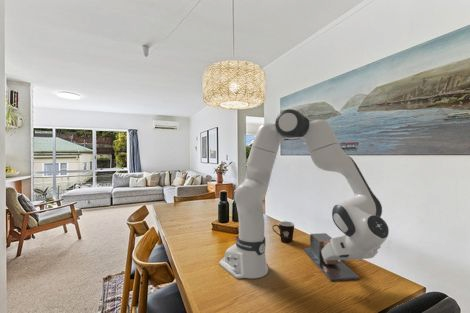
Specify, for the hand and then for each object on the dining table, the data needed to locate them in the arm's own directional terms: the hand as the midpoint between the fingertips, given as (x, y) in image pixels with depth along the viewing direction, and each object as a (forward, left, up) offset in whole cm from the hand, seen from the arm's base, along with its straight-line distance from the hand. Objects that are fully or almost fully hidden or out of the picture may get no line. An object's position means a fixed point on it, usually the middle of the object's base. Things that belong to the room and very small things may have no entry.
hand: (341, 259), depth 94 cm
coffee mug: (-37, +16, -7) cm, 41 cm away
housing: (-9, +8, -7) cm, 14 cm away
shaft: (-11, +9, -5) cm, 15 cm away
